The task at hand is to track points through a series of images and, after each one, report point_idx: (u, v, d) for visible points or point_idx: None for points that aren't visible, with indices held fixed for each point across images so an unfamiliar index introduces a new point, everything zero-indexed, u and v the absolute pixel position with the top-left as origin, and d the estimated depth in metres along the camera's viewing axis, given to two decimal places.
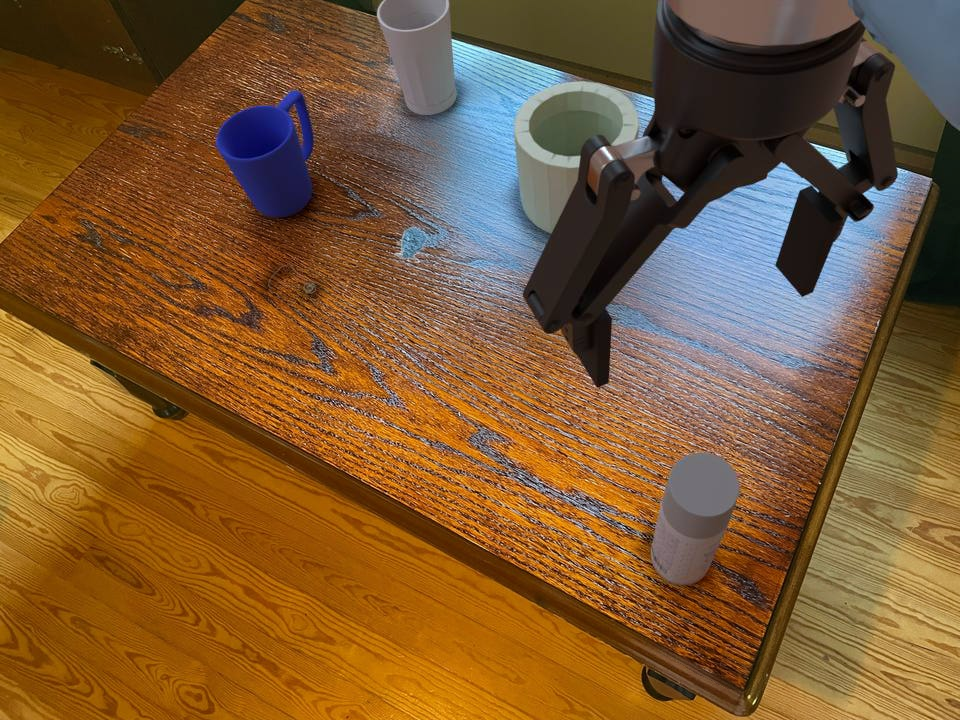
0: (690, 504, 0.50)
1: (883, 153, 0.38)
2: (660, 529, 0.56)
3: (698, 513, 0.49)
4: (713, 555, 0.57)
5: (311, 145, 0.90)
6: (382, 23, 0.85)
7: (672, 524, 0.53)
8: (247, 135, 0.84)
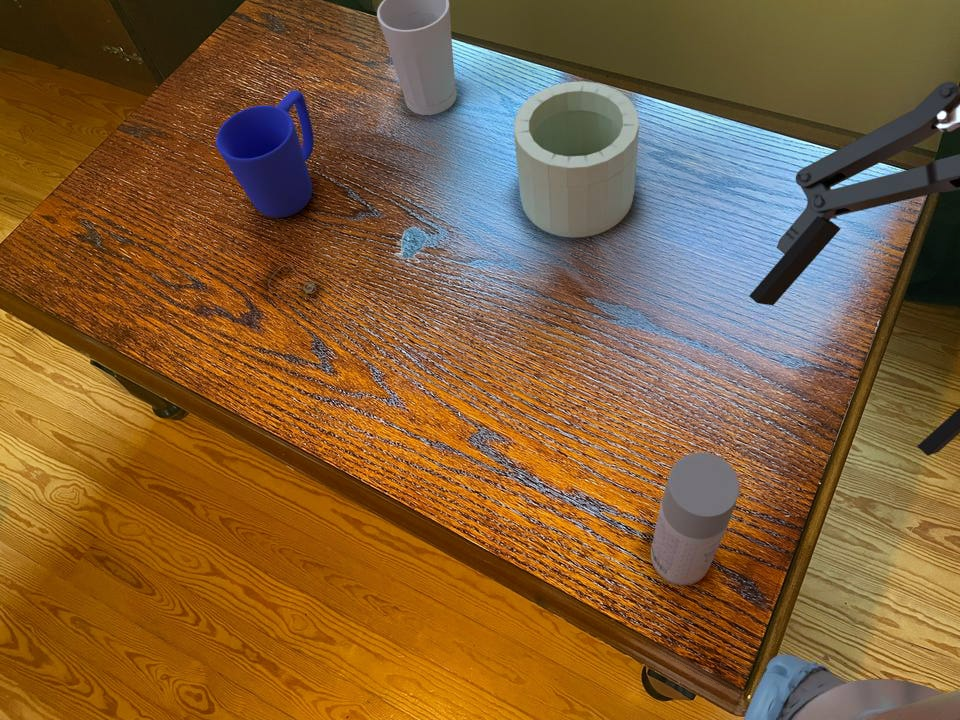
0: (690, 504, 0.50)
1: None
2: (660, 529, 0.56)
3: (698, 513, 0.49)
4: (713, 555, 0.57)
5: (311, 145, 0.90)
6: (382, 23, 0.85)
7: (672, 524, 0.53)
8: (247, 135, 0.84)
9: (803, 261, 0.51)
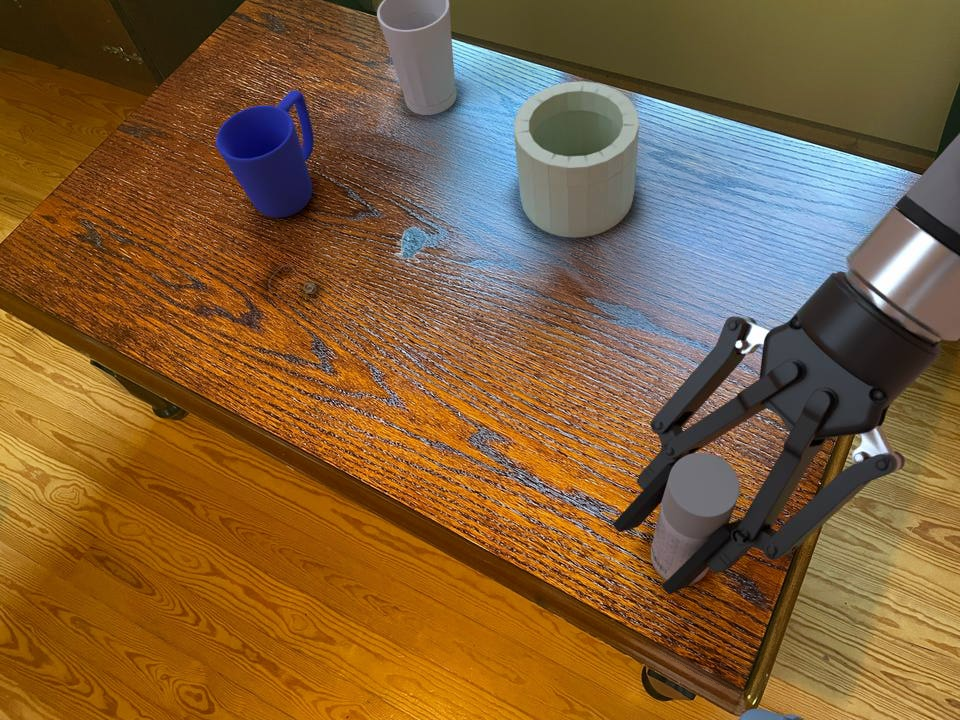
0: (690, 504, 0.50)
1: (804, 522, 0.48)
2: (660, 529, 0.56)
3: (698, 513, 0.49)
4: None
5: (311, 145, 0.90)
6: (382, 23, 0.85)
7: (672, 524, 0.53)
8: (247, 135, 0.84)
9: (659, 496, 0.56)
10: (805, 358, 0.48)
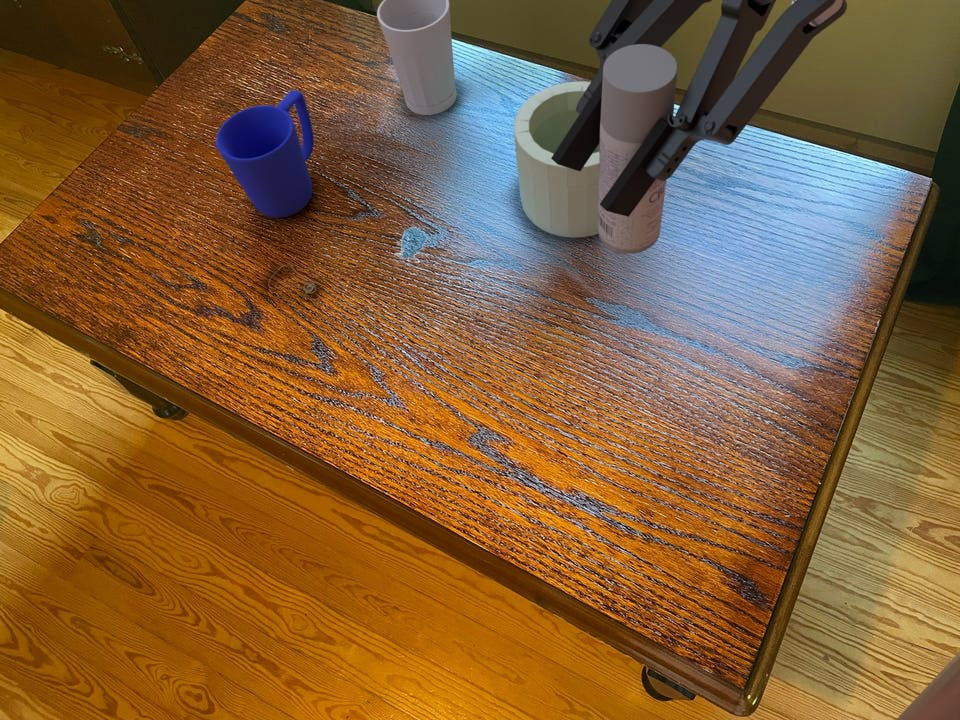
0: (624, 84, 0.47)
1: (741, 84, 0.45)
2: (601, 159, 0.53)
3: (632, 90, 0.47)
4: (658, 196, 0.55)
5: (311, 145, 0.90)
6: (382, 23, 0.85)
7: (609, 129, 0.50)
8: (247, 135, 0.84)
9: (599, 121, 0.53)
10: None
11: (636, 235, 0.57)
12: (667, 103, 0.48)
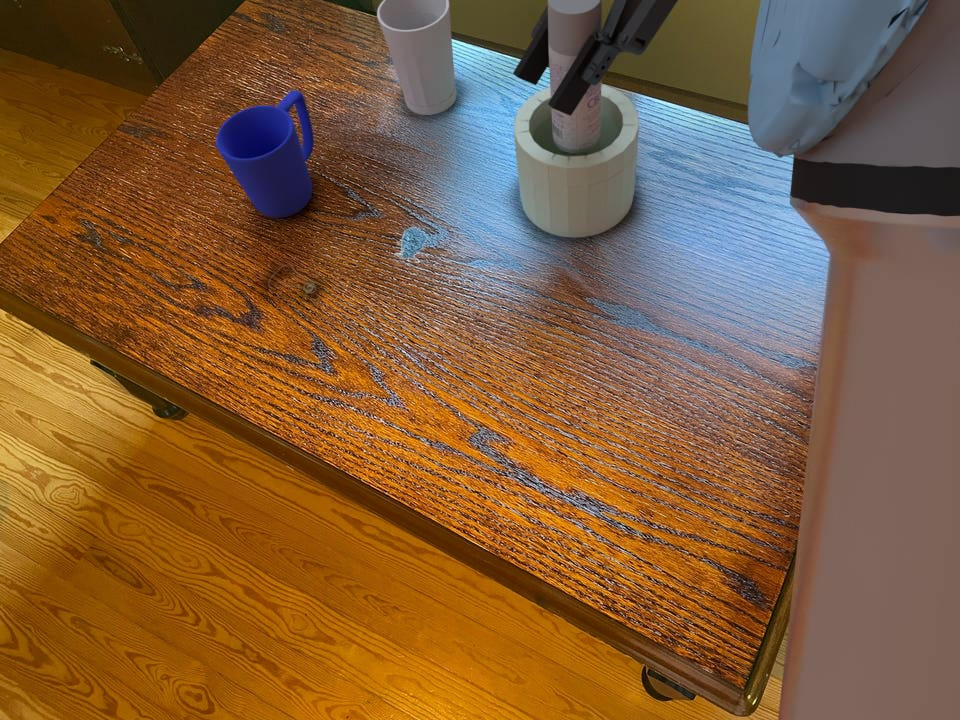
0: (562, 8, 0.64)
1: (645, 7, 0.62)
2: (550, 73, 0.71)
3: (568, 12, 0.64)
4: (595, 102, 0.72)
5: (311, 145, 0.90)
6: (382, 23, 0.85)
7: (554, 46, 0.67)
8: (247, 135, 0.84)
9: (548, 44, 0.70)
10: None
11: (580, 136, 0.74)
12: (595, 24, 0.65)
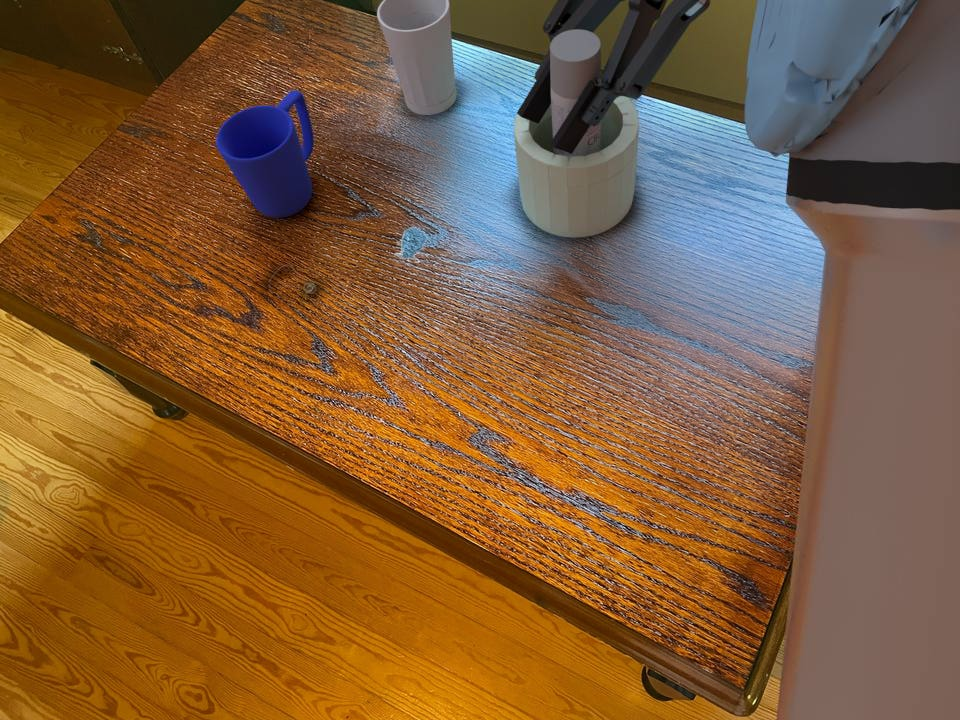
0: (564, 56, 0.68)
1: (642, 56, 0.66)
2: (552, 113, 0.74)
3: (569, 60, 0.68)
4: (594, 140, 0.76)
5: (311, 145, 0.90)
6: (382, 23, 0.85)
7: (556, 89, 0.71)
8: (247, 135, 0.84)
9: (550, 86, 0.74)
10: None
11: None
12: (594, 70, 0.69)
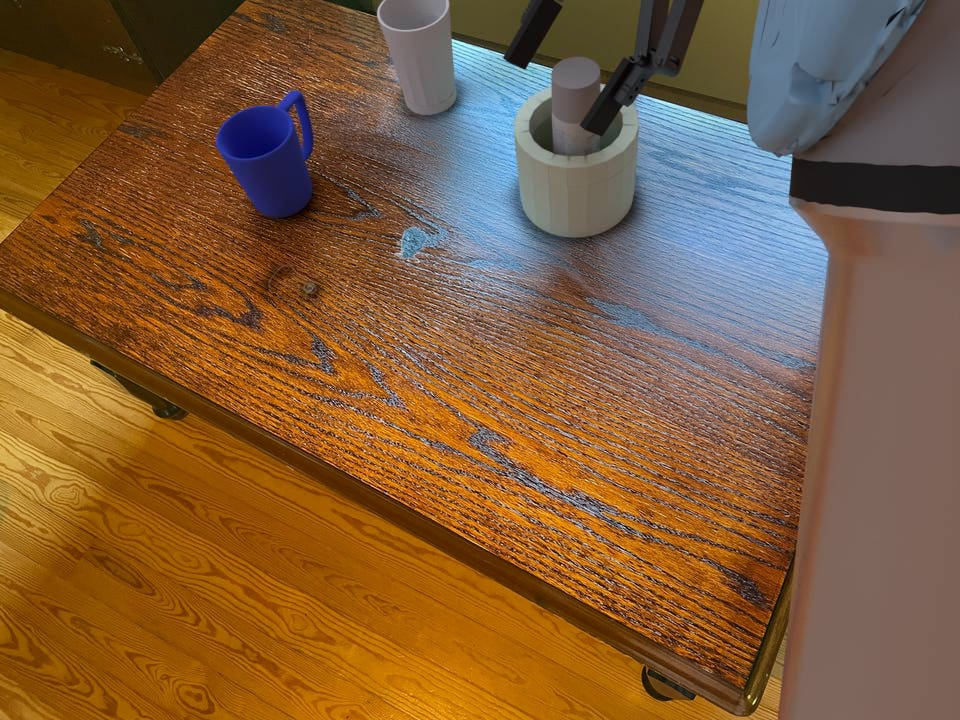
0: (565, 83, 0.71)
1: (672, 25, 0.62)
2: (553, 136, 0.77)
3: (570, 87, 0.70)
4: None
5: (311, 145, 0.90)
6: (382, 23, 0.85)
7: (557, 114, 0.74)
8: (247, 135, 0.84)
9: (537, 29, 0.73)
10: None
11: None
12: (594, 96, 0.72)
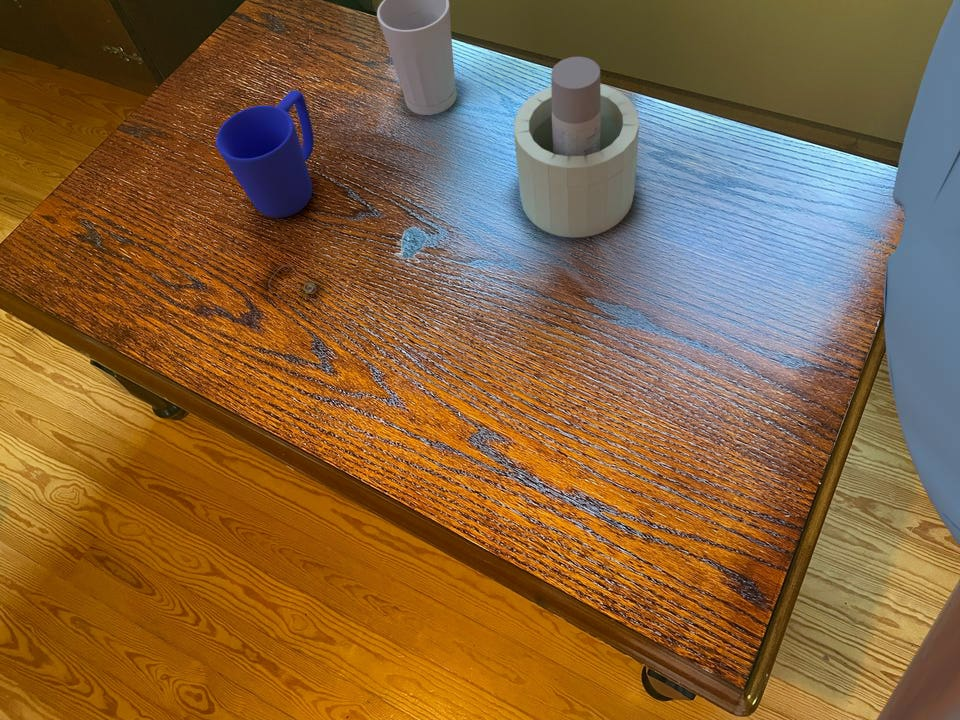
0: (565, 83, 0.71)
1: None
2: (553, 136, 0.77)
3: (570, 87, 0.70)
4: None
5: (311, 145, 0.90)
6: (382, 23, 0.85)
7: (557, 114, 0.74)
8: (247, 135, 0.84)
9: None
10: None
11: None
12: (594, 96, 0.72)
